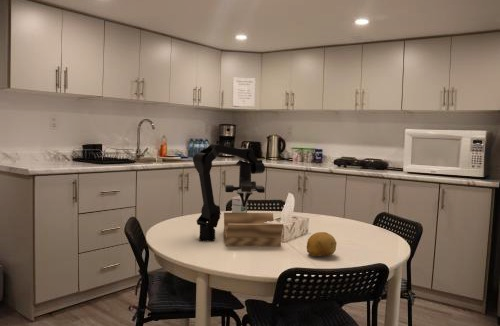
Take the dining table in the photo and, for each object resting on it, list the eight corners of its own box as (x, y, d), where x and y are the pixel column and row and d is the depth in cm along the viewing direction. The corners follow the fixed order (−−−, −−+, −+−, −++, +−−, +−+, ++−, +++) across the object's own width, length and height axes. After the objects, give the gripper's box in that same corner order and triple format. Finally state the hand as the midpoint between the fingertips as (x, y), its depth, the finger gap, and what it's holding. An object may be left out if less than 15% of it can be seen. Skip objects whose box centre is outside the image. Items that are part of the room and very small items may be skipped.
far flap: (224, 228, 200) (224, 228, 200) (274, 228, 203) (274, 229, 203) (223, 212, 204) (223, 213, 204) (273, 213, 207) (272, 213, 208)
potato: (303, 252, 181) (304, 229, 180) (332, 252, 182) (333, 229, 181) (309, 260, 170) (310, 235, 170) (340, 260, 172) (341, 235, 171)
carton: (225, 246, 186) (226, 237, 185) (223, 237, 200) (223, 228, 200) (280, 246, 189) (281, 237, 188) (274, 237, 203) (274, 228, 203)
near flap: (280, 236, 188) (280, 237, 188) (226, 236, 185) (226, 237, 185) (283, 223, 184) (283, 224, 183) (228, 223, 180) (228, 224, 180)
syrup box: (240, 226, 223) (241, 198, 221) (231, 224, 226) (232, 196, 225) (246, 224, 227) (247, 197, 226) (238, 222, 231) (239, 195, 230)
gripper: (227, 176, 197) (225, 209, 199) (267, 176, 200) (265, 210, 201) (225, 173, 208) (224, 205, 210) (263, 174, 211) (262, 205, 212)
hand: (244, 206), depth 208 cm, fingers closed
